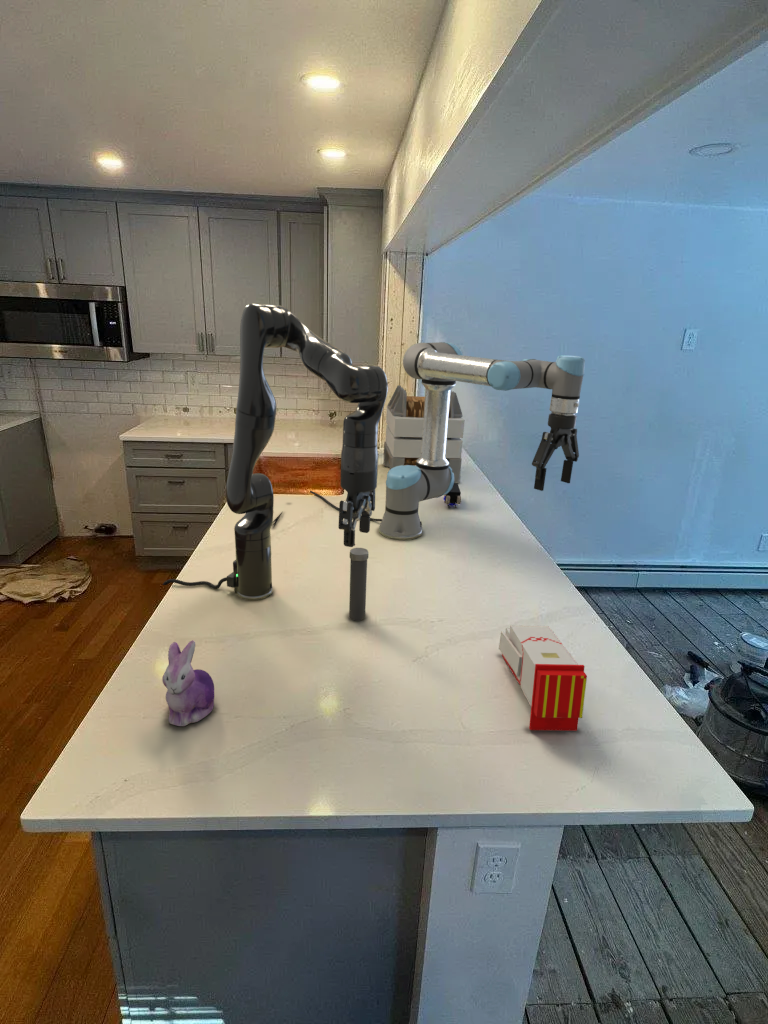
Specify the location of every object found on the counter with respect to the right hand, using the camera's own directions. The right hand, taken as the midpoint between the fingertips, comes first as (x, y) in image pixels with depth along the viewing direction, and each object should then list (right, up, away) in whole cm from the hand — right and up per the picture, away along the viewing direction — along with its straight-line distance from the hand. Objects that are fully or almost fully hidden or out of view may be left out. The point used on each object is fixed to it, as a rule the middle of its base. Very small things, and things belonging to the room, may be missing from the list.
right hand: (552, 485), depth 166 cm
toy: (-17, -45, -44) cm, 66 cm away
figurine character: (-22, -4, +67) cm, 71 cm away
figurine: (-86, -46, -56) cm, 113 cm away
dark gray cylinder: (-56, -34, -20) cm, 69 cm away
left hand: (-55, -13, -44) cm, 72 cm away
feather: (-88, -9, +46) cm, 100 cm away
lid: (-55, -18, -26) cm, 64 cm away
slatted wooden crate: (-32, +11, +109) cm, 115 cm away
